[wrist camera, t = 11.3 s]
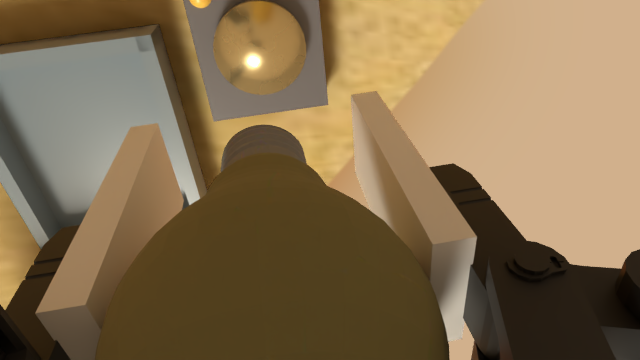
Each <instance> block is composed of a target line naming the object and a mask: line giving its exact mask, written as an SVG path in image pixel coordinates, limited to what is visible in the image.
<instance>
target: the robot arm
mask: <svg viewBox="0 0 640 360" xmlns="http://www.w3.org/2000/svg"><path fill="white" fill-rule="evenodd" d="M351 103H352V121H353V139H354V157H355V173H356V176H357V178H358V181H359V183H360V186H361V188H362V191H363V193H364V195H365V198H366V200H367V203H368V205H369V208H370V210H371V212H373V213H374V214H376V215H377V216H378V217H380V218H381V219H383V220H384V221H385V222H386V223H387V225H388V226H389V227H390V228H391V229H392V230H393V231H394V232H395V233H396V234H397V235H398V237H399V238H400V239H401V240H402V241H403V242H404V243H405V244H406V245H407V246H408V247H409V248H410V250H411V251H412V253H413V254H414V256H415V257H416V259H417V260H418V262H419V263H420V265H421V267H422V268H423V270H424V272H425V274H426V275H427V277H428V279H429V280H430V283H431V285H432V287H433V290H434V292H435V295H436V298H437V301H438V304H439V308H440V311H441V314H442V317H443V321H444V324H445V328H446V332H447V338H448V342H449V341H454V340H459V339H462V335H463V328H464V321H465V322H466V324H467V326H468V328H469V330H470V332H471V334H472V336H473V338H474V340H475V341H474V346H473V352H472V358H471V360H640V250H637V251H634V252H631V254H630V255H629V256H628V257H627V258H626V260H625V262H624V264H623V266H622V269H616V268H603V267H589V266H579V265H572V264H569V262H568V261H567V260H566V259H565V257H564V256H562V255H561V254H559V253H558V252H556V251H555V250H554V249H552V248H550V247H547V246H545V245H542V244H539V243H537V242H531V241H526V239H525V238H524V237H523V236H522V235H521V233H520V232H519V231H518V230H517V229H516V227H515V226H514V225H513V224H512V223H511V221H510V220H509V219H508V218H507V217H506V215H505V214H504V213H503V212H502V211H501V209H500V208H499V207H498V206H497V204H496V203H495V202H494V201H493V200H491V197H490V196H489V195H488V194H487V192H486V191H485V190H484V189H482V186H481V185H480V184H479V183H478V182H477V180H476V179H475V178H474V177H473V176H472V174H470V173H469V172H467V171H466V170H464V169H462V168H460V167H458V166H456V165H455V164H448V165H441V166H435V167H428V165H427V164H426V162H425V161H424V160H423V158H422V157H421V155H420V154H419V152H418V151H417V149H416V148H415V147H414V145H413V144H412V142H411V141H410V139H409V138H408V136H407V135H406V133H405V132H404V131H403V129H402V128H401V126H400V125H399V123H398V122H397V120H396V119H395V117H394V116H393V115H392V113H391V112H390V110H389V109H388V107H387V106H386V104H385V103H384V102H383V100H382V99H381V97H380V96H379V94H378V93H377V91H374V92H367V93H361V94H354V95H351ZM183 202H184V199H183V196H182V194H181V191H180V188H179V185H178V182H177V179H176V176H175V173H174V170H173V167H172V164H171V161H170V158H169V155H168V152H167V149H166V146H165V143H164V140H163V137H162V134H161V131H160V128H159V125H158V123H155V124H149V125H142V126H135V127H130V129H129V131H128V133H127V135H126V137H125V139H124V141H123V143H122V145H121V147H120V149H119V151H118V153H117V155H116V157H115V158H114V160H113V162H112V164H111V166H110V168H109V170H108V172H107V174H106V176H105V178H104V180H103V182H102V184H101V186H100V188H99V190H98V192H97V194H96V196H95V197H94V199H93V201H92V203H91V205H90V207H89V209H88V211H87V213H86V215H85V217H84V219H83V221H82V223H81V225H76V226H70V227H64V228H62V229H60V230H59V231H58V232H57V233H56V234H55V235H54V236H53V237H52V238H51V239H50V240H48V241H47V242H46V243H45V244H44V246H43V247H42V249H41V251H40V252H39V254H38V256H37V257H36V259H35V261H34V265H32V266H31V268H30V269H29V271H28V273H27V274H26V276H25V278H26V280H24V281H22V283H21V285H20V286H19V288H18V290H17V291H16V293H15V295H14V296H13V298H12V300H11V302H10V303H9V305H8V307H7V308H6V310H4V309H3V307H2V306H1V305H0V360H95V355H96V348H97V344H98V340H99V337H100V333H101V330H102V326H103V323H104V319H105V316H106V313H107V309H108V306H109V304H110V302H111V299H112V297H113V295H114V292H115V290H116V288H117V286H118V284H119V283H120V281H121V279H122V278H123V276H124V274H125V273H126V271H127V270H128V268H129V267H130V265H131V264H132V262H133V261H134V259H135V258H136V256H137V255H138V254H139V252H140V251H141V250H142V249H143V248H144V246H145V245H146V244H147V243H148V242H149V240H150V239H151V238H152V237H153V236H154V234H155V233H156V232H157V231H159V230H160V229H161V228H162V227H163V226H164V225H165V224H166V223H168V222H169V221H170V220H171V219H172V218H173V217H174V216H176V215H177V214H178V213H179V212H180V211H181V210H182V207H183Z"/></svg>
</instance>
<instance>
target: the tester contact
mask: <svg viewBox="0 0 640 360" xmlns="http://www.w3.org/2000/svg"><path fill="white" fill-rule="evenodd" d="M213 52H214V58H215V61H216V64H217V66H218V68H219V70H220V72H221V73H222V75H223V76H224V77H225V79H226V80H228V81H229V82H230V83H231V84H232V85H233V86H235V87H236V88H238V89H240V90H242V91H244V92H247V93H251V94H256V95H266V94H272V93H276V92H279V91H281V90H283V89H285V88H286V87H288V86H289V85H290V84H291V83H293V82H294V80H295V79H296V78H297V77H298V75H299V74H300V72H301V70H302V68H303V66H304V63H305V59H306V41H305V37H304V33H303V31H302V29H301V27H300V24H299V23H298V21H297V20H296V18H295V17H294V16H293V15H292V14H291V13H290V12H289V11H288V10H287V9H285V8H284V7H283V6H281V5H279V4H277V3H274V2H271V1H267V0H249V1H245V2H242V3H239V4H237V5H236V6H234V7H233V8H231V9H230V10H229V11H228V12H227V13H226V14H225V15H224V16H223V17H222V19H221V20H220V22H219V24H218V26H217V29H216V32H215V36H214V42H213Z"/></svg>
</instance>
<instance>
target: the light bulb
mask: <svg viewBox="0 0 640 360" xmlns="http://www.w3.org/2000/svg"><path fill="white" fill-rule="evenodd" d="M95 360H449V344H448V338H447V332H446V328H445V324H444V321H443V317H442V314H441V311H440V308H439V304H438V301H437V298H436V295H435V292H434V290H433V287H432V285H431V283H430V280H429V279H428V277H427V275H426V274H425V272H424V270H423V268H422V267H421V265H420V263H419V262H418V260H417V259H416V257H415V256H414V254H413V253H412V251H411V250H410V248H409V247H408V246H407V245H406V244H405V243H404V242H403V241H402V240H401V239H400V238H399V237H398V235H397V234H396V233H395V232H394V231H393V230H392V229H391V228H390V227H389V226H388V225H387V223H386V222H385V221H384V220H383V219H381V218H380V217H378V216H377V215H376V214H374V213H373V212H371V211H370V210H369V209H367V208H366V207H364V206H363V205H361V204H360V203H359V202H357V201H356V200H354V199H353V198H351V197H349V196H347V195H345V194H343V193H341V192H339V191H337V190H335V189H332V188H330V187H328V186H326V184H325V183H324V181H323V180H322V179H321V177H320V176H319V175H318V173H317V172H315V171H314V170H313V169H312V168H311V167H310V166H308V165H307V164H306V159H305V156H304V152H303V148H302V146H301V144H300V143H299V141H298V140H297V139H296V138H295V137H294V136H293V135H292V134H291V133H289V132H288V131H286V130H284V129H282V128H280V127H276V126H272V125H256V126H251V127H248V128H246V129H243V130H242V131H240V132H238V133H237V134H236V135H234V136H233V137H232V138H231V139H230V141H229V142H228V143H227V145H226V147H225V149H224V152H223V156H222V166H221V173H220V174H219V175H218V176H217V177H216V178H215V179H214V181H213V182H212V184H211V185H210V187H209V189H208V191H207V193H206V195H205V196H203V197H202V198H200V199H199V200H197V201H195V202H194V203H192V204H191V205H189V206H188V207H186V208H185V209H183V210H181V211H180V212H179V213H178V214H177V215H176V216H174V217H173V218H172V219H171V220H170V221H169V222H168V223H166V224H165V225H164V226H163V227H162V228H161V229H160V230H159V231H157V232H156V233H155V234H154V236H153V237H152V238H151V239H150V240H149V242H148V243H147V244H146V245H145V246H144V248H143V249H142V250H141V251H140V252H139V254H138V255H137V256H136V258H135V259H134V261H133V262H132V264H131V265H130V267H129V268H128V270H127V271H126V273H125V274H124V276H123V278H122V279H121V281H120V283H119V284H118V286H117V288H116V290H115V292H114V295H113V297H112V299H111V302H110V304H109V306H108V309H107V313H106V316H105V319H104V323H103V326H102V330H101V333H100V337H99V340H98V344H97V348H96V355H95Z"/></svg>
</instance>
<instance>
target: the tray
mask: <svg viewBox="0 0 640 360" xmlns="http://www.w3.org/2000/svg"><path fill="white" fill-rule="evenodd" d="M155 123H158V125H159V128H160V131H161V134H162V137H163V140H164V143H165V146H166V149H167V152H168V155H169V158H170V161H171V164H172V167H173V170H174V173H175V176H176V179H177V182H178V185H179V188H180V191H181V194H182V196H183V199H184V202H183V207H182V210H183V209H185V208H186V207H188V206H189V205H191V204H192V203H194V202H195V201H197V200H199V199H200V198H202V197H203V196H205V195H206V193H207V188H206V185H205V181H204V178H203V174H202V171H201V167H200V164H199V161H198V157H197V154H196V150H195V147H194V143H193V140H192V136H191V133H190V130H189V126H188V123H187V119H186V116H185V112H184V109H183V105H182V102H181V99H180V95H179V92H178V88H177V85H176V81H175V78H174V74H173V71H172V68H171V64H170V61H169V57H168V54H167V50H166V47H165V43H164V40H163V37H162V33H161V30H160V26H159V24H155V25H148V26H140V27H132V28H125V29H117V30H109V31H101V32H94V33H86V34H78V35H70V36H63V37H55V38H47V39H39V40H32V41H24V42H16V43H8V44H1V45H0V182H1V184H2V186H3V187H4V189H5V191H6V192H7V194H8V196H9V197H10V199H11V201H12V202H13V204H14V205H15V207H16V209H17V210H18V212H19V214H20V215H21V217H22V219H23V220H24V222H25V224H26V225H27V227H28V229H29V230H30V232H31V234H32V235H33V237H34V239H35V240H36V242H37V244H38V245H39V247H40V249H42V247H43V246H44V244H45V243H46V242H47V241H48V240H50V239H51V238H52V237H53V236H54V235H55V234H56V233H57V232H58V231H59V230H60V229H62V228H64V227H70V226H76V225H81V223H82V221H83V219H84V217H85V215H86V213H87V211H88V209H89V207H90V205H91V203H92V201H93V199H94V197H95V196H96V194H97V192H98V190H99V188H100V186H101V184H102V182H103V180H104V178H105V176H106V174H107V172H108V170H109V168H110V166H111V164H112V162H113V160H114V158H115V157H116V155H117V153H118V151H119V149H120V147H121V145H122V143H123V141H124V139H125V137H126V135H127V133H128V131H129V129H130V127H135V126H142V125H149V124H155Z"/></svg>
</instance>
